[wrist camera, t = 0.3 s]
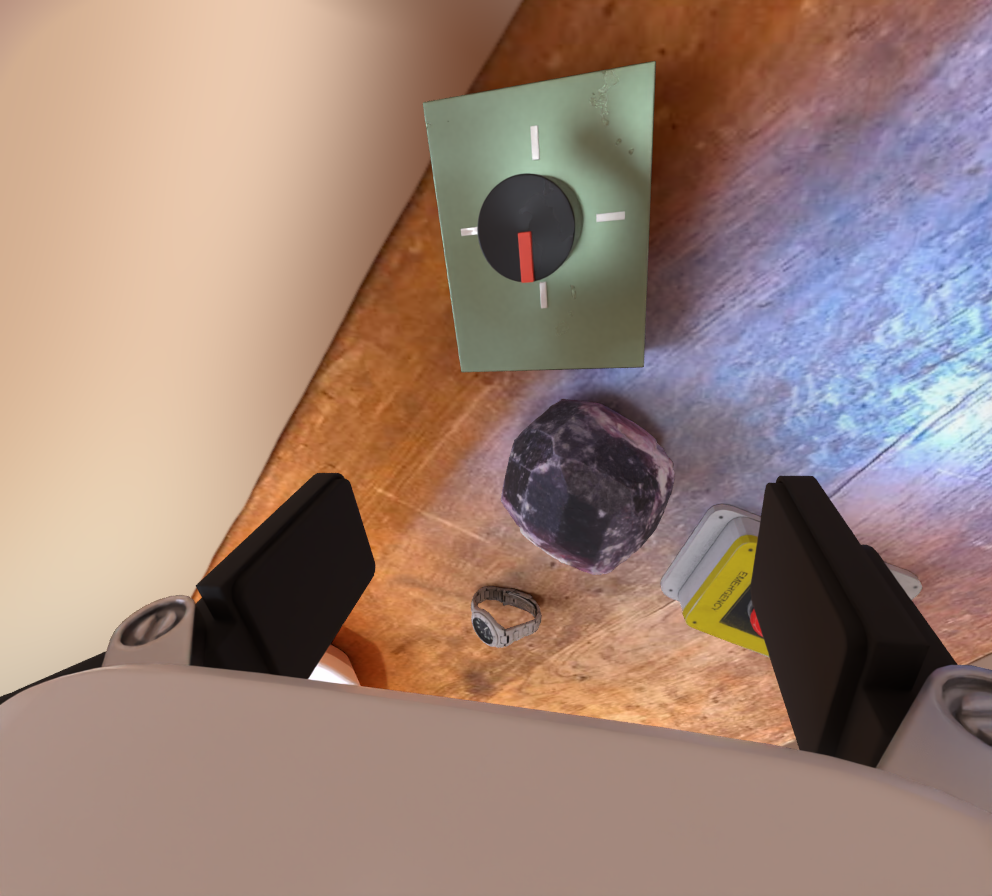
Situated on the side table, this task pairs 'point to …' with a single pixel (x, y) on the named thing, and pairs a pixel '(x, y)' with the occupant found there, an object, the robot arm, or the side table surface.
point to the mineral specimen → (587, 485)
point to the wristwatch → (487, 624)
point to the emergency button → (729, 577)
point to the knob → (529, 226)
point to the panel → (604, 205)
